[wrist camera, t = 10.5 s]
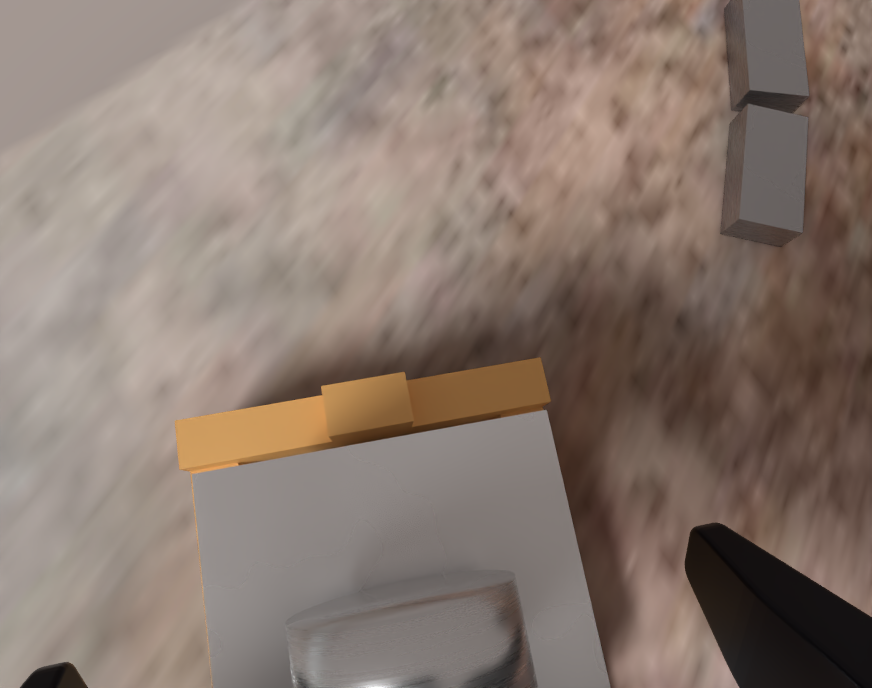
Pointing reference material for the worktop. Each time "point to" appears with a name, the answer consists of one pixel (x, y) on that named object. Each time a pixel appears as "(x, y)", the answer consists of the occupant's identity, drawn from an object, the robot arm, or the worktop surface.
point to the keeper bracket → (359, 415)
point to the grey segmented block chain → (765, 122)
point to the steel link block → (399, 565)
